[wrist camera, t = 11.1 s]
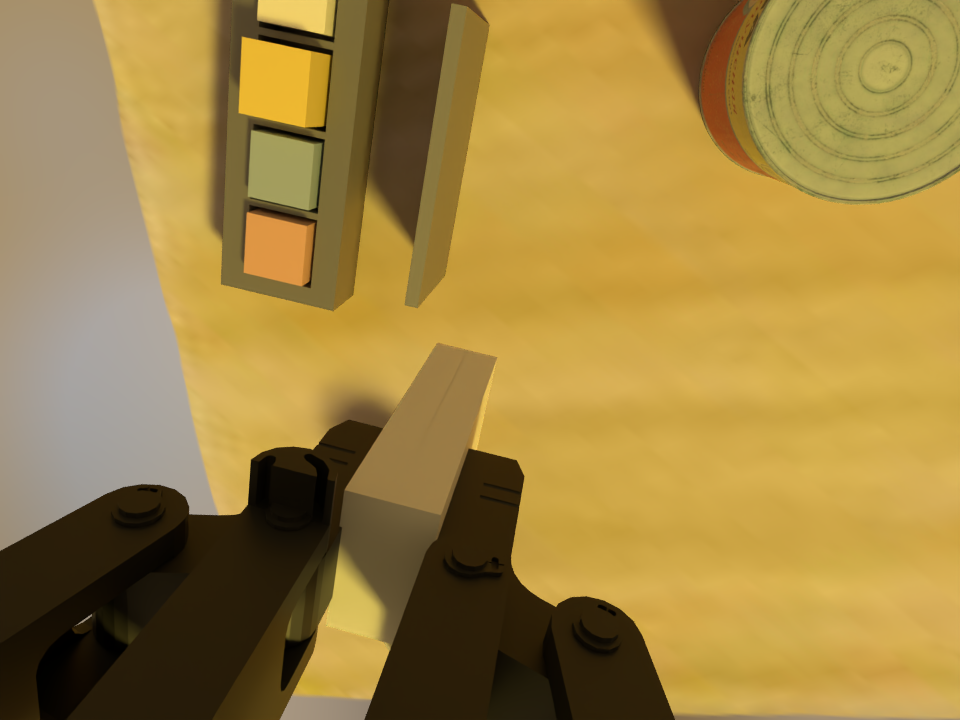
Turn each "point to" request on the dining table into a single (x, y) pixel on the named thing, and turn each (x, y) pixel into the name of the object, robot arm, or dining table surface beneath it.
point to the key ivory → (300, 15)
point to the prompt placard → (447, 150)
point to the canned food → (838, 94)
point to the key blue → (285, 168)
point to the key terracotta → (279, 246)
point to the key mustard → (284, 83)
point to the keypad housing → (342, 157)
